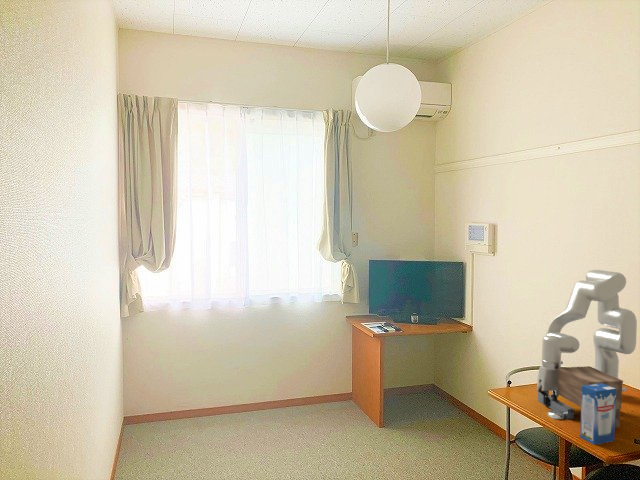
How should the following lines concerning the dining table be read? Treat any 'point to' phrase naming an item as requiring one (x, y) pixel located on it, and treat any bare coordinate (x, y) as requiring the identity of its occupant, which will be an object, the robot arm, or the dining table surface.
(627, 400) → the dining table surface
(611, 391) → the milk carton
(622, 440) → the dining table surface
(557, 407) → the gray rectangular bar
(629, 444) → the dining table surface
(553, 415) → the steel token
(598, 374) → the cabinet
